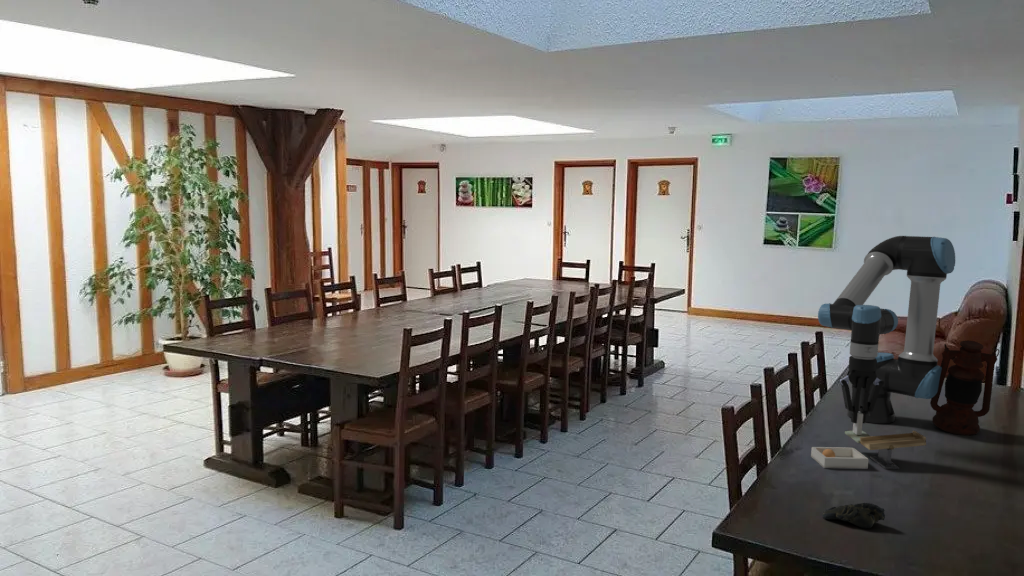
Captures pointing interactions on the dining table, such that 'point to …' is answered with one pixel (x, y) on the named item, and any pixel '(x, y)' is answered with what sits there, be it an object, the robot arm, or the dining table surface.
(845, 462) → the dish
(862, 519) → the stone
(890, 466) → the fulcrum
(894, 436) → the lever
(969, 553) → the dining table surface
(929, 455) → the dining table surface
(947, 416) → the lantern
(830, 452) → the ball
